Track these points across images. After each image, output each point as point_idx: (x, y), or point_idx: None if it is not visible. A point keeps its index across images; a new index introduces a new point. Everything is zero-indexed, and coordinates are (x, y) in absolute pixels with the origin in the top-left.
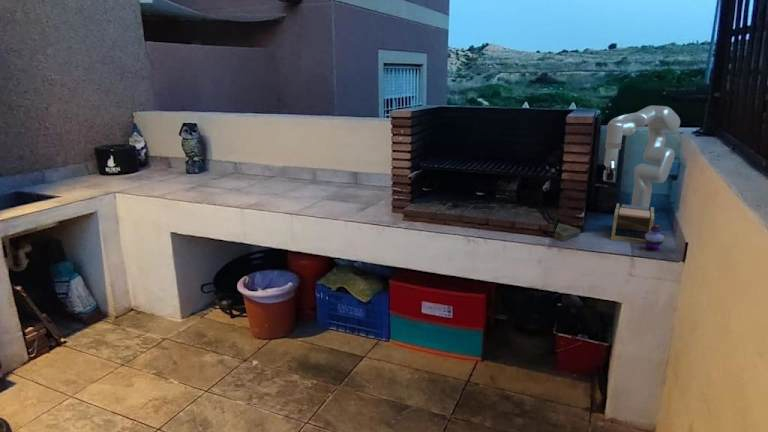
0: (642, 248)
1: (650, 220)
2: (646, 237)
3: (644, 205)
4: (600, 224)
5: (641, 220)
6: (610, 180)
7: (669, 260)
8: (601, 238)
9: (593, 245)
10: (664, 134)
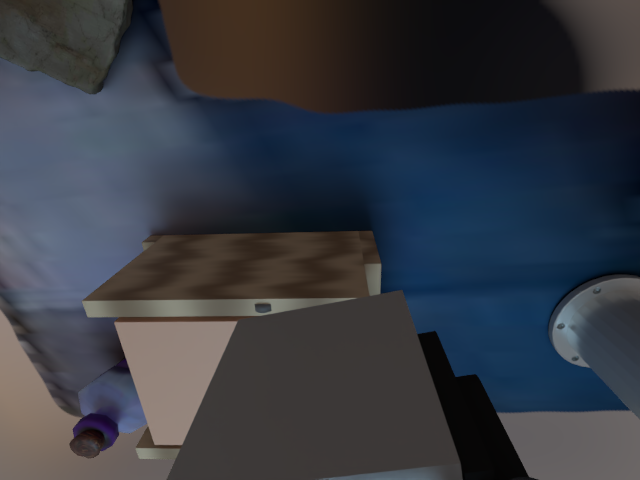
0: None
1: (143, 435)
2: (96, 379)
3: (612, 387)
4: (380, 167)
5: None
6: None
7: (64, 401)
8: (140, 197)
9: (14, 176)
10: None
